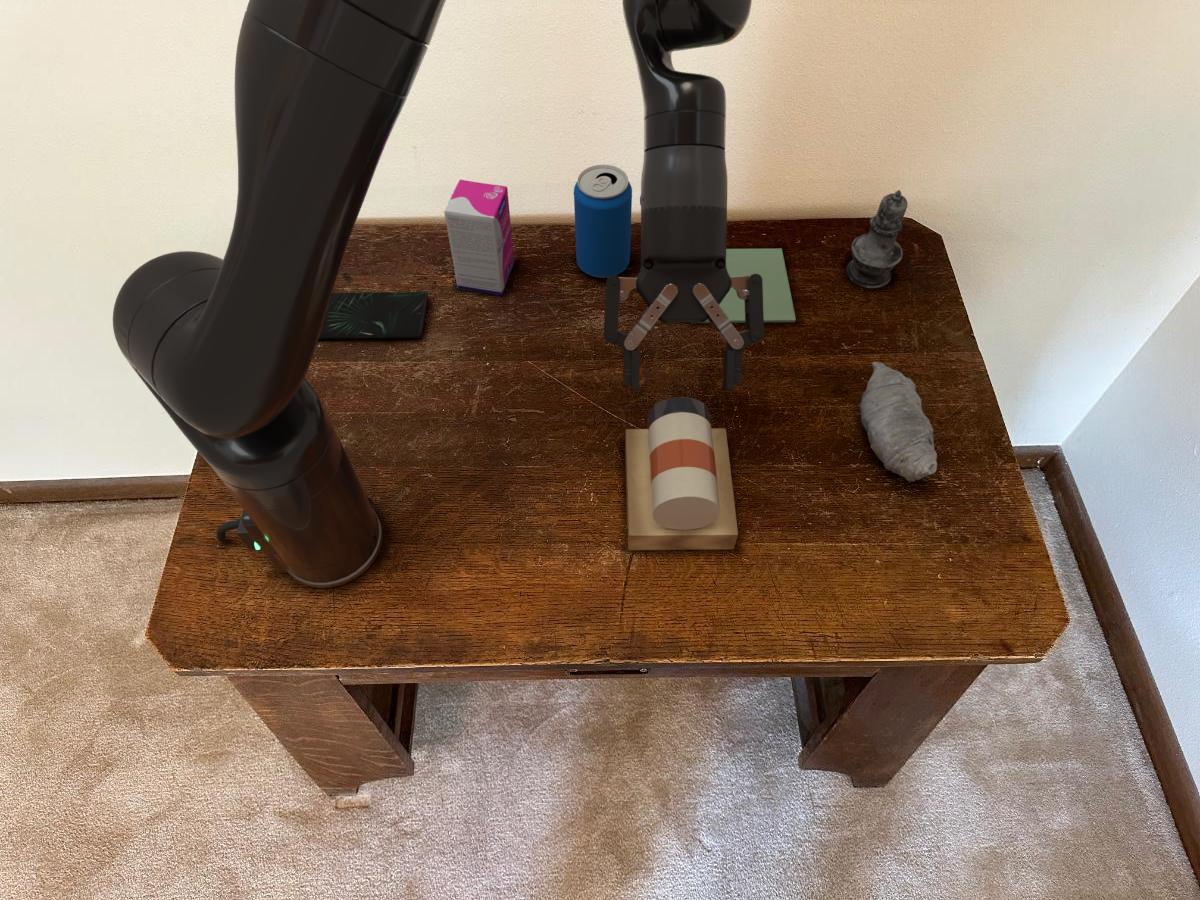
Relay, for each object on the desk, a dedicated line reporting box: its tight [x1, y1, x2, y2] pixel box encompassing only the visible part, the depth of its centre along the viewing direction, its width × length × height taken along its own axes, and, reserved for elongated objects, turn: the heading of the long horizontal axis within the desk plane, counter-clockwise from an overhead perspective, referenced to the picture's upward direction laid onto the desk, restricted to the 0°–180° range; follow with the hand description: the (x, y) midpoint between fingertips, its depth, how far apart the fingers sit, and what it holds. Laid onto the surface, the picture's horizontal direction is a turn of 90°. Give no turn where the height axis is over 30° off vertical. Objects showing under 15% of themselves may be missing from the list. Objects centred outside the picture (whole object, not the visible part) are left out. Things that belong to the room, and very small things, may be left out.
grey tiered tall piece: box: [845, 189, 909, 289], centre depth 91 cm, size 6×6×12 cm
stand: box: [624, 427, 739, 551], centre depth 77 cm, size 10×12×3 cm
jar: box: [646, 396, 720, 530], centre depth 73 cm, size 6×11×6 cm, turn 0°
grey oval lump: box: [859, 361, 938, 482], centre depth 80 cm, size 6×14×8 cm, turn 5°
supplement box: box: [443, 179, 515, 296], centre depth 91 cm, size 6×6×12 cm
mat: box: [701, 247, 797, 324], centre depth 95 cm, size 12×12×1 cm
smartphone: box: [318, 291, 429, 340], centre depth 91 cm, size 7×1×15 cm
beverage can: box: [573, 164, 633, 279], centre depth 92 cm, size 6×6×12 cm
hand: (682, 390), depth 73 cm, fingers open, 8 cm apart
